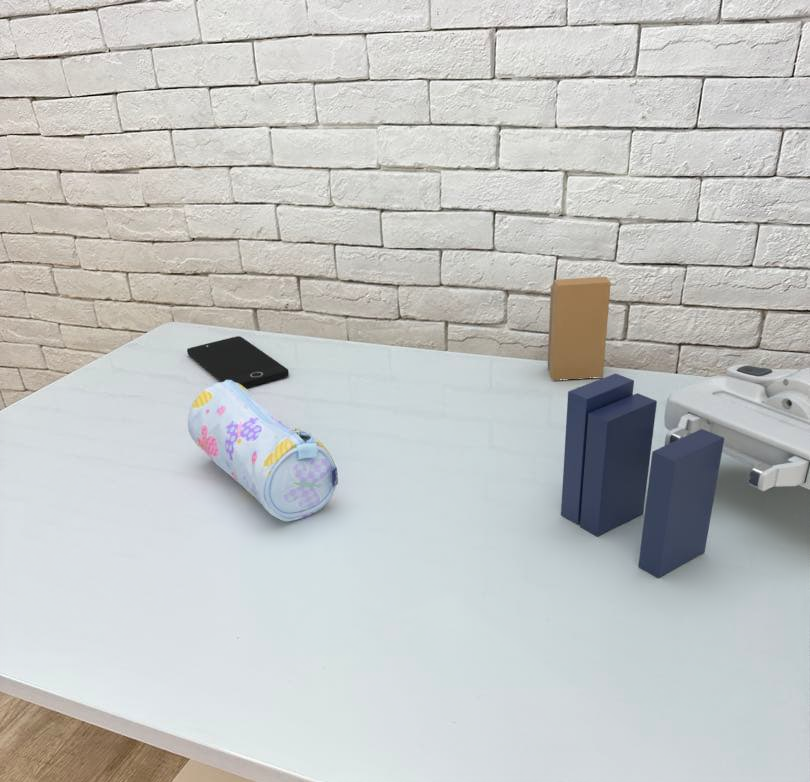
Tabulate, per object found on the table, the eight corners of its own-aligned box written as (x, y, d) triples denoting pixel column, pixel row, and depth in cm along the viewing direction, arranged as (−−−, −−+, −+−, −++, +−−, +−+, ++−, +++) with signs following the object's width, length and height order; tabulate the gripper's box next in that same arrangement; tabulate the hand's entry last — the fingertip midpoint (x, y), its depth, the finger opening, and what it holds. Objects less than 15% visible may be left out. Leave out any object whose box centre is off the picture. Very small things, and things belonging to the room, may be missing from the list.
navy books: (605, 493, 90) (616, 372, 82) (643, 513, 86) (658, 388, 79) (559, 515, 87) (566, 391, 79) (597, 536, 83) (608, 409, 76)
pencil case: (346, 509, 90) (337, 428, 85) (272, 538, 86) (259, 454, 81) (257, 440, 105) (245, 367, 99) (191, 462, 101) (175, 387, 95)
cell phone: (232, 392, 117) (231, 385, 116) (186, 354, 130) (185, 348, 129) (290, 376, 121) (289, 369, 120) (240, 341, 134) (239, 335, 133)
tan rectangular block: (595, 364, 119) (602, 271, 112) (602, 378, 115) (610, 282, 108) (546, 367, 119) (550, 274, 112) (552, 381, 115) (557, 285, 108)
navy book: (684, 541, 82) (701, 428, 75) (704, 552, 80) (724, 437, 74) (637, 566, 79) (652, 451, 72) (658, 578, 77) (674, 461, 70)
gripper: (896, 485, 79) (807, 538, 73) (713, 413, 93) (625, 452, 87) (915, 423, 76) (823, 473, 69) (722, 359, 90) (631, 395, 83)
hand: (711, 461), depth 78 cm, fingers open, 8 cm apart
